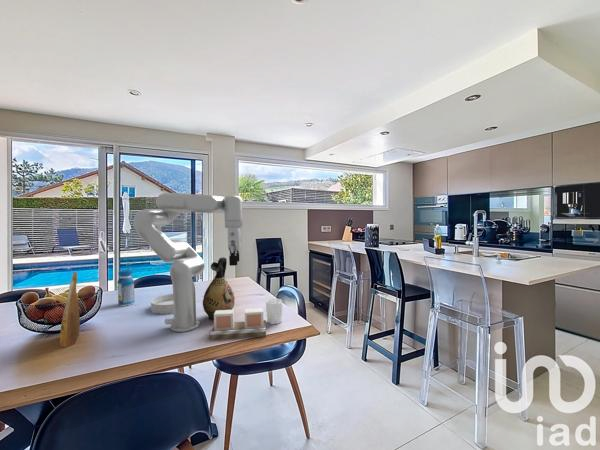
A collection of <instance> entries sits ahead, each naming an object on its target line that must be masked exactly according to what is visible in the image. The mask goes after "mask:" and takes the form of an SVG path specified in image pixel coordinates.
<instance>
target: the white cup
mask: <svg viewBox="0 0 600 450" xmlns="http://www.w3.org/2000/svg"><path fill="white" fill-rule="evenodd" d="M265 308H266V309H265V311H266V323H268V324H271V325H277V324H280V323H282V316H283V300H282V299H281V298H270V299H267V300H265Z"/></svg>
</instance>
